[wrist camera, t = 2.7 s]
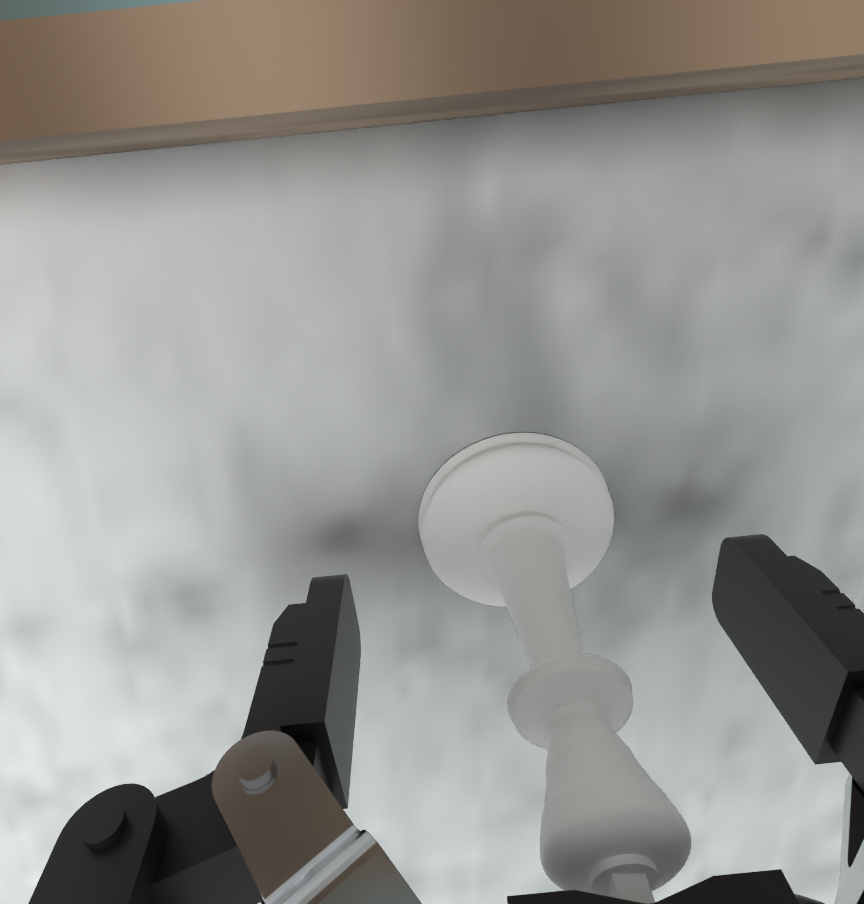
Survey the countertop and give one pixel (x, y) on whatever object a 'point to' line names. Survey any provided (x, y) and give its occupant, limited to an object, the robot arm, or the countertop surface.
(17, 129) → the box
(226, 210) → the countertop surface
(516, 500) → the chess piece
